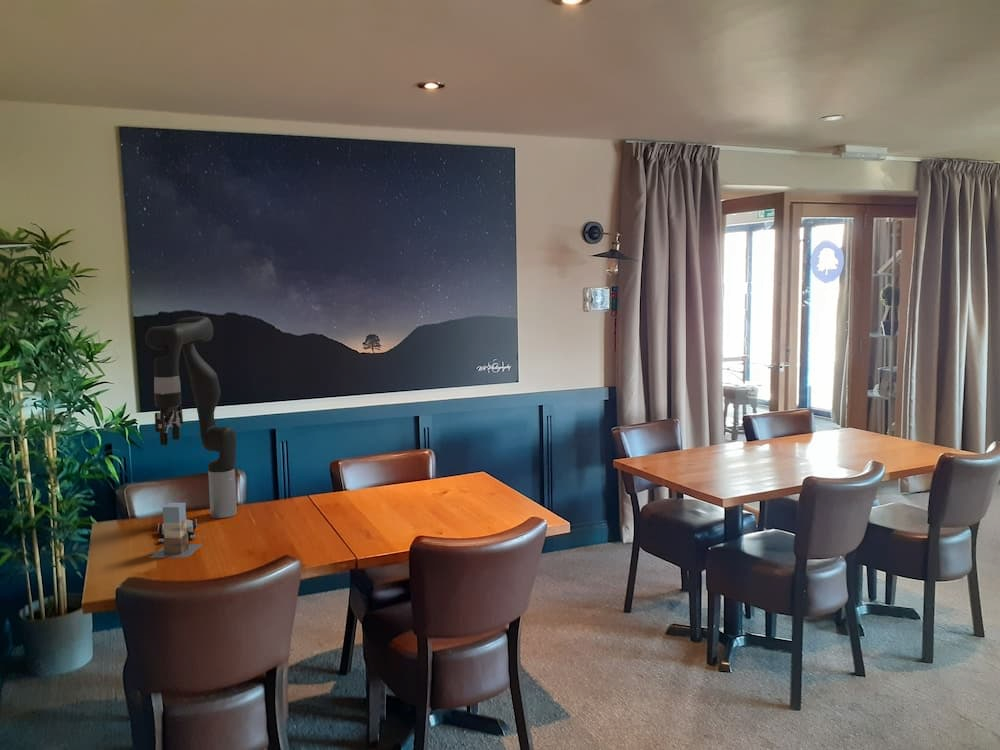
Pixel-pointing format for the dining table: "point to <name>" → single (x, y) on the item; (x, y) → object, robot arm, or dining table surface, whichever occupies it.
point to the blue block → (174, 512)
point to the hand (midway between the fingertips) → (170, 442)
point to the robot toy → (190, 528)
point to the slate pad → (185, 554)
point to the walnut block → (176, 545)
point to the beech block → (175, 529)
